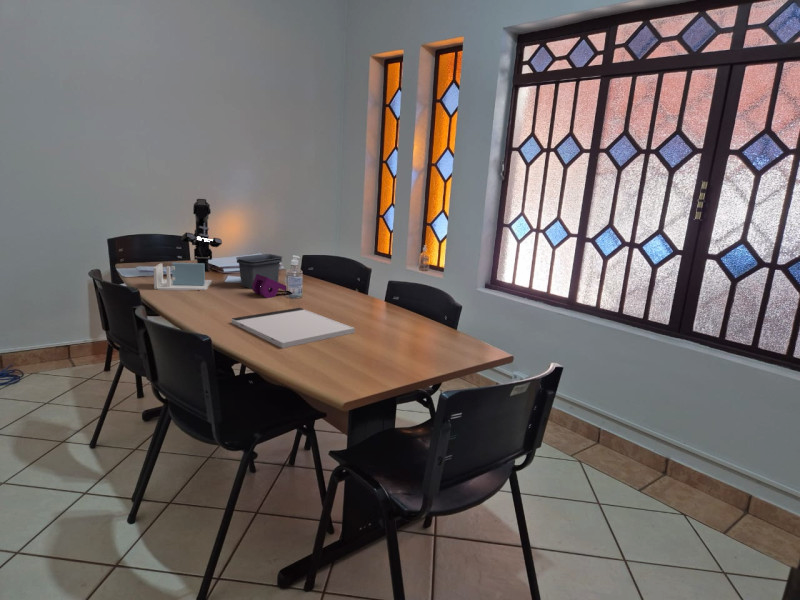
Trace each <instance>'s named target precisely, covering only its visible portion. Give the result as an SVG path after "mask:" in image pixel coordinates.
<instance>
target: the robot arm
mask: <svg viewBox="0 0 800 600" xmlns="http://www.w3.org/2000/svg"><path fill="white" fill-rule="evenodd" d="M210 206H211V205H210V204H209V202H207V199H205V198H197V199H196V202H194V203H193V212H192V213H193V215H194V218H195V229H194V233H192V232H185V233H184V234H182V236H181V239H180V240H181V242H184V243H188V242H189V243H191V246H195V247H194V249H193V252H194V253H193V256H194V257H193V259H194V261H195V260H196V263H204V265H205V272H210V268H209V261H210V260H213V251H212V250H211V248H210V247H212V248H219V247H220V246H221V245H222V244H223V241H222V239H221V238H218V237H213V238H212V239H210V235H209V233H208V232H209V230H210V229H209V226H208V224H209V223H208V220H209V216H210V214H212V213H211V212H212V211H211V207H210Z"/></svg>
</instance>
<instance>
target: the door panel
mask: <svg viewBox="0 0 800 600" xmlns="http://www.w3.org/2000/svg"><path fill="white" fill-rule="evenodd" d="M170 271H171V279H172V285H205V280H206V278H205V277H206V276H205V275H206V271H205V265H204V263H197V262H194V263H193V262H171V266H170Z"/></svg>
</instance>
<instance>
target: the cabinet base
mask: <svg viewBox="0 0 800 600" xmlns="http://www.w3.org/2000/svg"><path fill="white" fill-rule="evenodd" d="M152 268H153V288H154V289H156V290H155V291H189V290H206V289H207V290H208V288H209V287H210V285H211V284H212V283H213V282H212V280H211V279H205V285H172V277H171V265H167V266H166V278H164V268H163V263H162V262H160V263H159V264H157V265H156V266H154V267H152ZM208 286H209V287H208ZM157 289H158V290H157ZM207 290H206V291H207Z"/></svg>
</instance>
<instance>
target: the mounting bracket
mask: <svg viewBox="0 0 800 600" xmlns="http://www.w3.org/2000/svg"><path fill="white" fill-rule="evenodd" d="M260 286H261V287H260ZM286 286H287V285H286V284H283V283H281V282H279V281H278V282H276V281H274V280H272V279H269V278H267V277H264V276H261V275H258V274H256V277H255V279H254V281H253V284H252V289H251V290H252V291H253V292H254V293H255V294H256V295H260V296H262V297H264V298H266V299H270V298H274V297H275V296H276V295H277V294H278V292H279V289H280V290H282V291H284V292H287V291H286Z"/></svg>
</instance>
